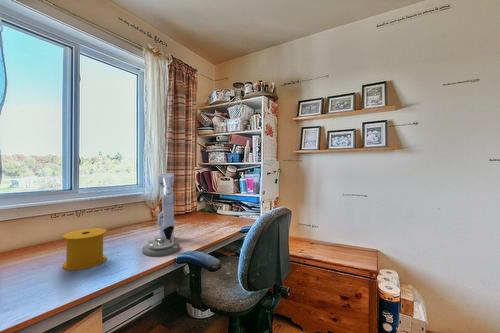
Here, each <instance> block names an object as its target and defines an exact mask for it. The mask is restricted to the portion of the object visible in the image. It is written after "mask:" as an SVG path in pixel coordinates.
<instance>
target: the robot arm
mask: <svg viewBox="0 0 500 333" xmlns="http://www.w3.org/2000/svg"><path fill="white" fill-rule="evenodd" d="M157 175H158V176H157V184H158V186H159V187H161V190H162V191H161V194H162V197H161V198H162V199H161V200H162V202H161V203H162V205H161V206H162V211H160V213H158V215H157V226H158V227H159V238H162V237H165V236H166V240H170V239H171V235H172V238H174V239H175V238H176V237H175V236H174V234H175V233H174V231H175V226H176V224H177V220H175V217H174V216H175V205H176V204H175V203H176V196H175V193H174V188H173V186H174V183H175V173H173V172H172V173H171V172H168V173H166V172H163V173H160V172H159V173H158V174H157Z"/></svg>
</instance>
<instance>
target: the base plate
mask: <svg viewBox="0 0 500 333" xmlns="http://www.w3.org/2000/svg"><path fill="white" fill-rule="evenodd" d="M178 249H179V250H180V243H179V242H177V241H174V246H173V247H171V248H169V249H165V250H150V249H149V248H148V243H147V244H145V245H144V246H142V253H141V254H143V255H144V256H147V257H155V258H156V257H163V256H164V255H165V256H169V255H172V253H173V254H174V252H175V253H176V251H177V250H178ZM179 250H178V251H179ZM178 251H177V252H178ZM168 254H169V255H168ZM165 256H164V257H165Z"/></svg>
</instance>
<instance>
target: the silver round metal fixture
mask: <svg viewBox="0 0 500 333" xmlns="http://www.w3.org/2000/svg"><path fill="white" fill-rule="evenodd" d="M174 242H175V238H172V235H171V239H170V240H166V236H165V237H162V238H160V236H155V237H153V239H149V240H148V243H147V244H148V248H149V249H150V250H165V249H169V248H171V247H173V246H174Z"/></svg>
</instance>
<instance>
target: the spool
mask: <svg viewBox="0 0 500 333" xmlns="http://www.w3.org/2000/svg"><path fill="white" fill-rule="evenodd" d="M107 232H108V231H107V229H106V228H101V227H99V228H96V227H95V228H84V229H83V228H82V229H76V230H74V231H70V232H67V233H66V232H65V233H64V234H63V235H62V239H63V240H65V241H66V255H65V256H66V261H65V262H63V263H62V265H61V266H62V269H63V270H65V271H79V270H85V269H90V268H94V267H96V266H97V267H98V266H99V265H101V264H103V263H105V262H106V260H107V255H105V254H104V235H105V234H107Z"/></svg>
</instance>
